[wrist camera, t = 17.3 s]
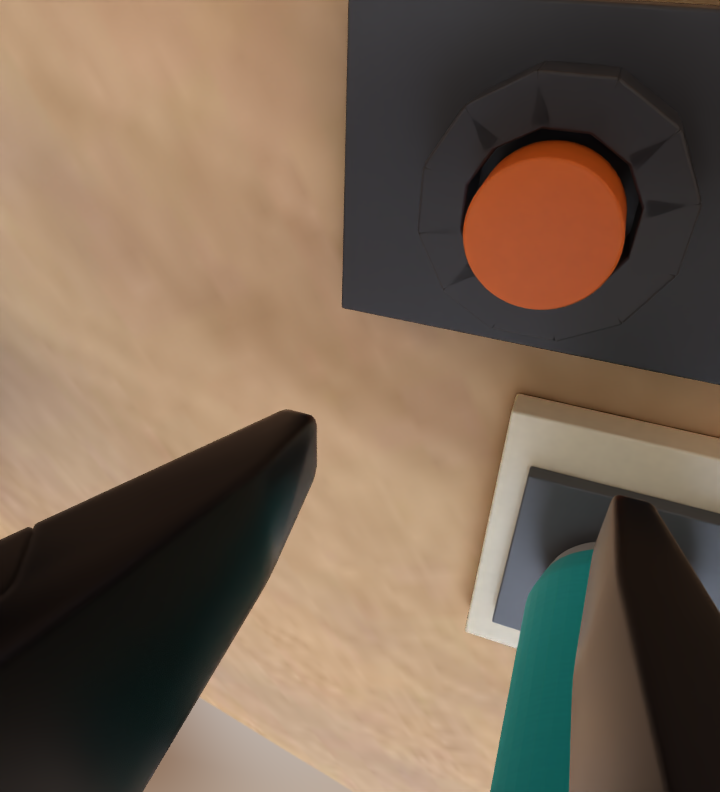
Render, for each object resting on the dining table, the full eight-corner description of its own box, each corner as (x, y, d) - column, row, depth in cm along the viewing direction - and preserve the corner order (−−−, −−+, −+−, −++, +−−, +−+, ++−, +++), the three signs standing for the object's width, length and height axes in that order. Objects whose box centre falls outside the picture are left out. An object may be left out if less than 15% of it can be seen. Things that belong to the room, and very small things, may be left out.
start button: (468, 269, 18) (453, 296, 16) (488, 130, 15) (473, 147, 14) (605, 294, 17) (601, 324, 15) (646, 149, 15) (646, 169, 13)
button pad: (354, 292, 22) (320, 331, 20) (364, -17, 17) (320, -12, 15) (733, 366, 19) (745, 424, 17) (888, 15, 14) (936, 28, 12)
